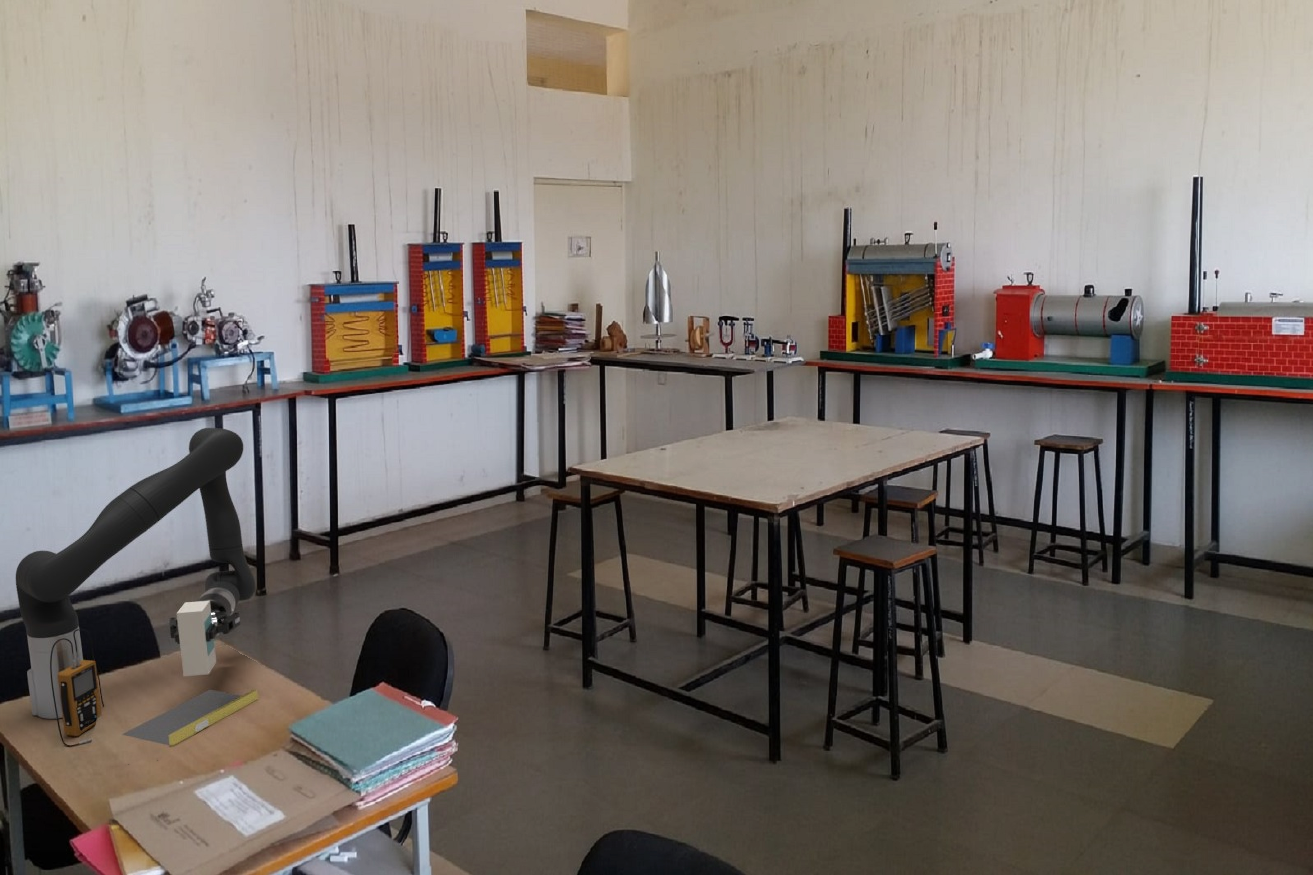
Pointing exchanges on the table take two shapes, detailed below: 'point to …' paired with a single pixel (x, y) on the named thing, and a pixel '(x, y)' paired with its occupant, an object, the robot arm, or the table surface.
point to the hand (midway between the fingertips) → (193, 638)
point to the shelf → (191, 717)
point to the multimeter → (78, 694)
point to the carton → (196, 638)
